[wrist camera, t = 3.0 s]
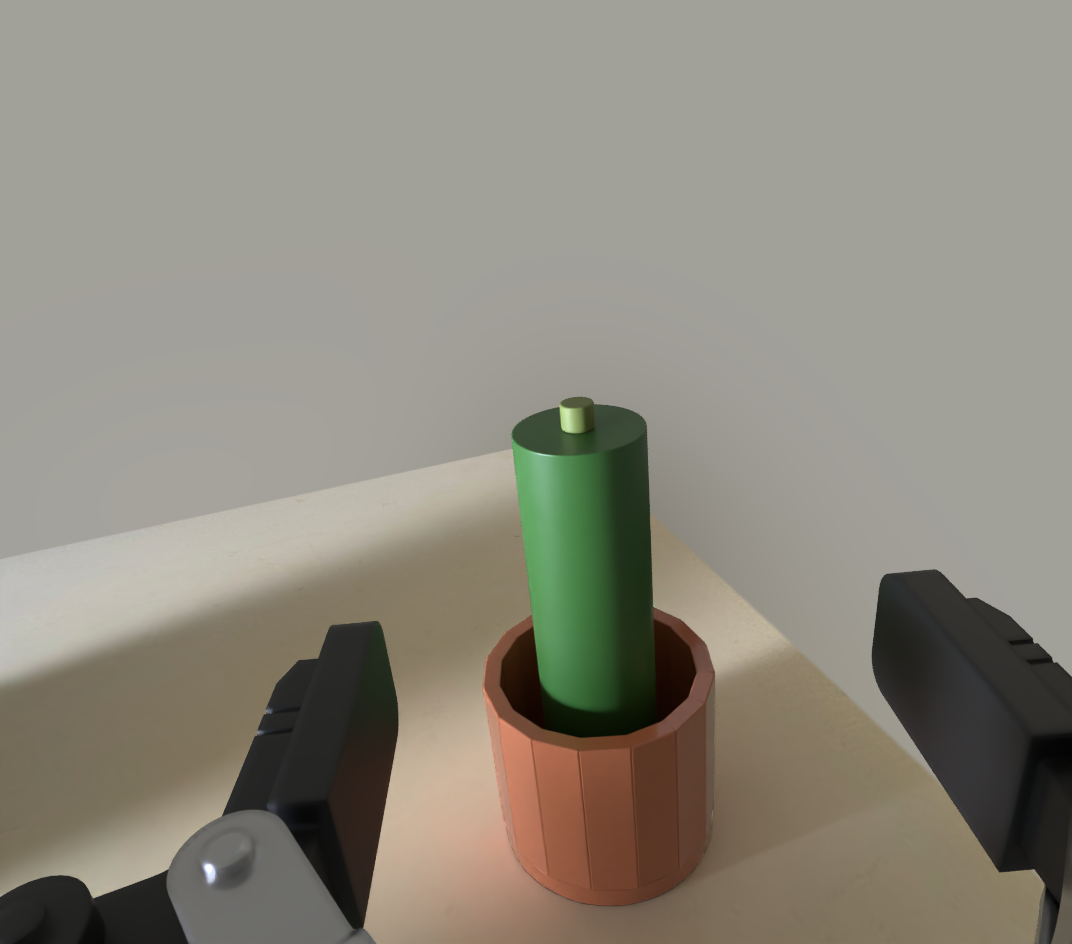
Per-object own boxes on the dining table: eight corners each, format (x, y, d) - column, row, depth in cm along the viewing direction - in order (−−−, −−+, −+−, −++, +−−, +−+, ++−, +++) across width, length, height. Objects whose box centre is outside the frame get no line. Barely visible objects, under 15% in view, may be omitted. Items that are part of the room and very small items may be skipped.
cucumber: (671, 769, 30) (661, 382, 23) (643, 854, 26) (622, 433, 20) (575, 745, 31) (539, 377, 25) (537, 823, 28) (484, 422, 21)
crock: (729, 760, 31) (732, 617, 28) (685, 937, 24) (682, 777, 22) (551, 719, 34) (536, 586, 31) (470, 867, 28) (442, 718, 25)
